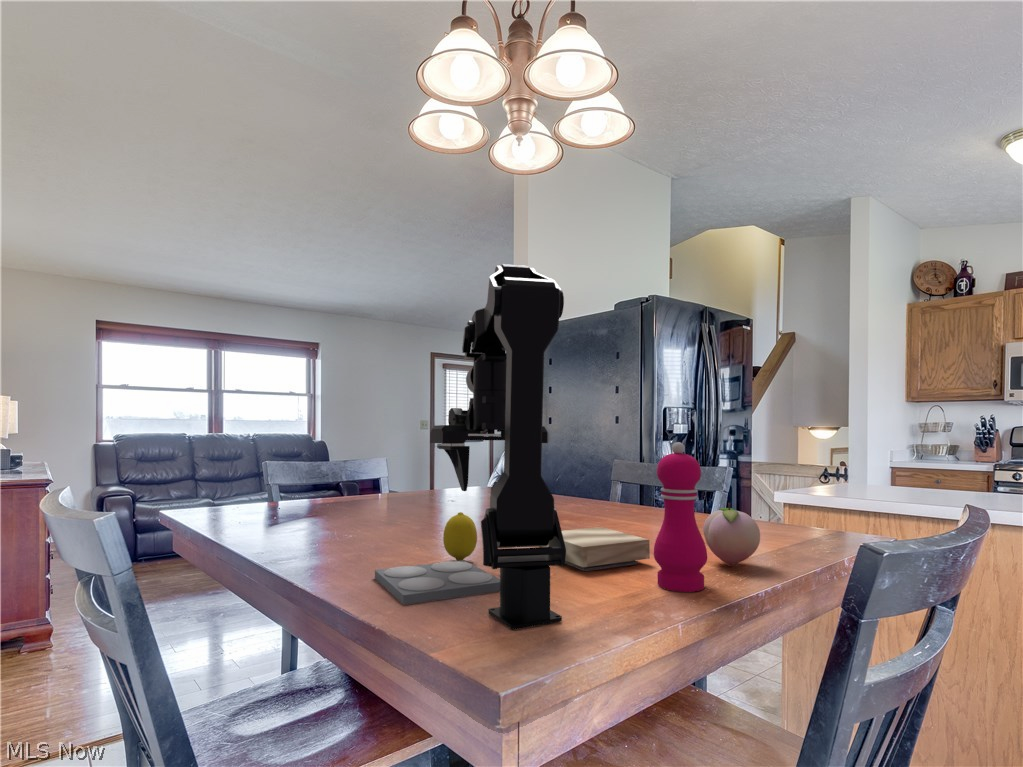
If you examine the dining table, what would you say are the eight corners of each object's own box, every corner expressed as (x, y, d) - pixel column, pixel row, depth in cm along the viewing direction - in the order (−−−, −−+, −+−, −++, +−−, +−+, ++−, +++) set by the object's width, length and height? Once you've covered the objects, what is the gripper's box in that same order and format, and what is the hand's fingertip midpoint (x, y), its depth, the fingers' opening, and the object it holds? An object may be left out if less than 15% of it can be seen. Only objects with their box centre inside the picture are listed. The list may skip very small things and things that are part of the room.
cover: (649, 558, 92) (649, 539, 92) (582, 567, 86) (582, 547, 86) (601, 543, 103) (600, 527, 103) (539, 550, 97) (539, 532, 97)
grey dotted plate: (638, 564, 92) (638, 560, 92) (585, 571, 87) (585, 567, 87) (599, 551, 101) (599, 548, 101) (549, 557, 97) (549, 554, 97)
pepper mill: (714, 584, 80) (711, 442, 82) (699, 596, 74) (696, 443, 76) (664, 576, 84) (662, 441, 86) (646, 587, 78) (644, 442, 80)
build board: (504, 590, 77) (504, 580, 77) (403, 605, 70) (403, 593, 70) (463, 567, 89) (464, 558, 89) (374, 578, 83) (374, 568, 83)
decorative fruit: (770, 574, 86) (768, 507, 87) (714, 572, 87) (713, 506, 88) (749, 559, 96) (747, 499, 96) (699, 558, 96) (698, 498, 97)
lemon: (436, 563, 92) (437, 513, 93) (455, 556, 97) (455, 509, 97) (465, 567, 89) (465, 515, 90) (483, 560, 94) (483, 511, 95)
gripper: (516, 396, 103) (516, 483, 102) (418, 392, 94) (416, 488, 93) (550, 392, 94) (550, 488, 92) (444, 387, 85) (443, 494, 83)
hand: (490, 489), depth 90 cm, fingers open, 9 cm apart
